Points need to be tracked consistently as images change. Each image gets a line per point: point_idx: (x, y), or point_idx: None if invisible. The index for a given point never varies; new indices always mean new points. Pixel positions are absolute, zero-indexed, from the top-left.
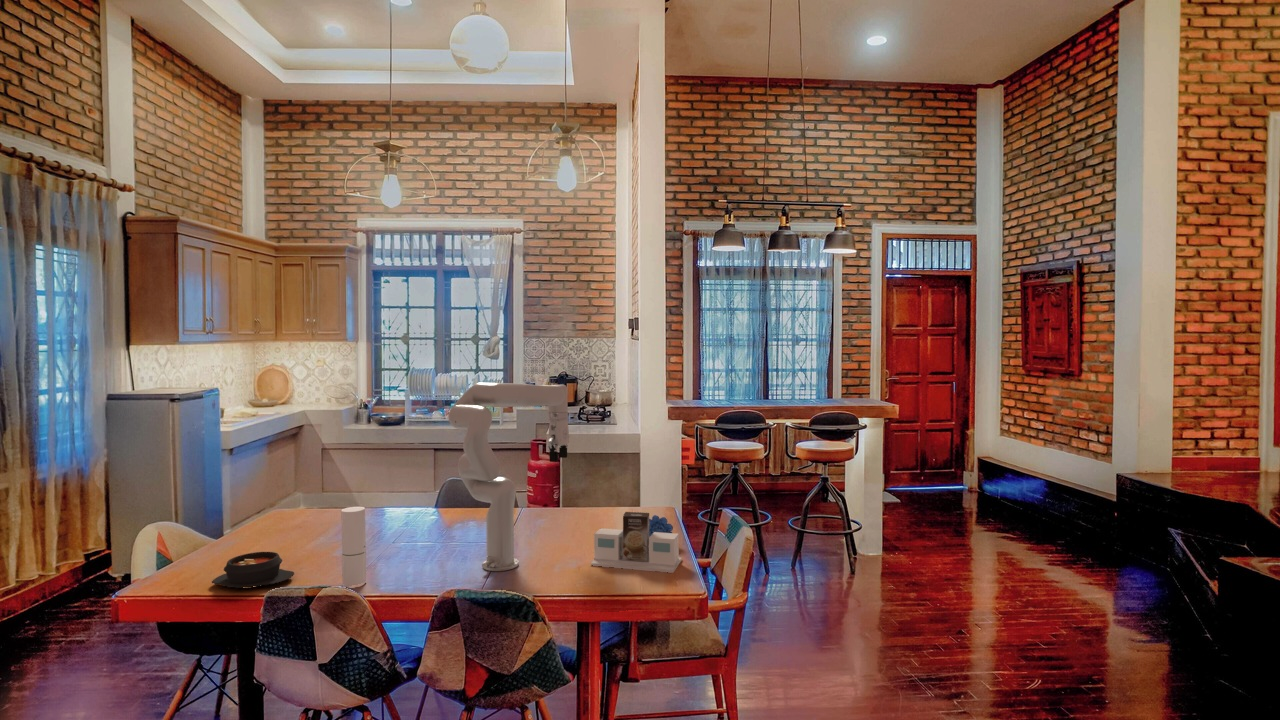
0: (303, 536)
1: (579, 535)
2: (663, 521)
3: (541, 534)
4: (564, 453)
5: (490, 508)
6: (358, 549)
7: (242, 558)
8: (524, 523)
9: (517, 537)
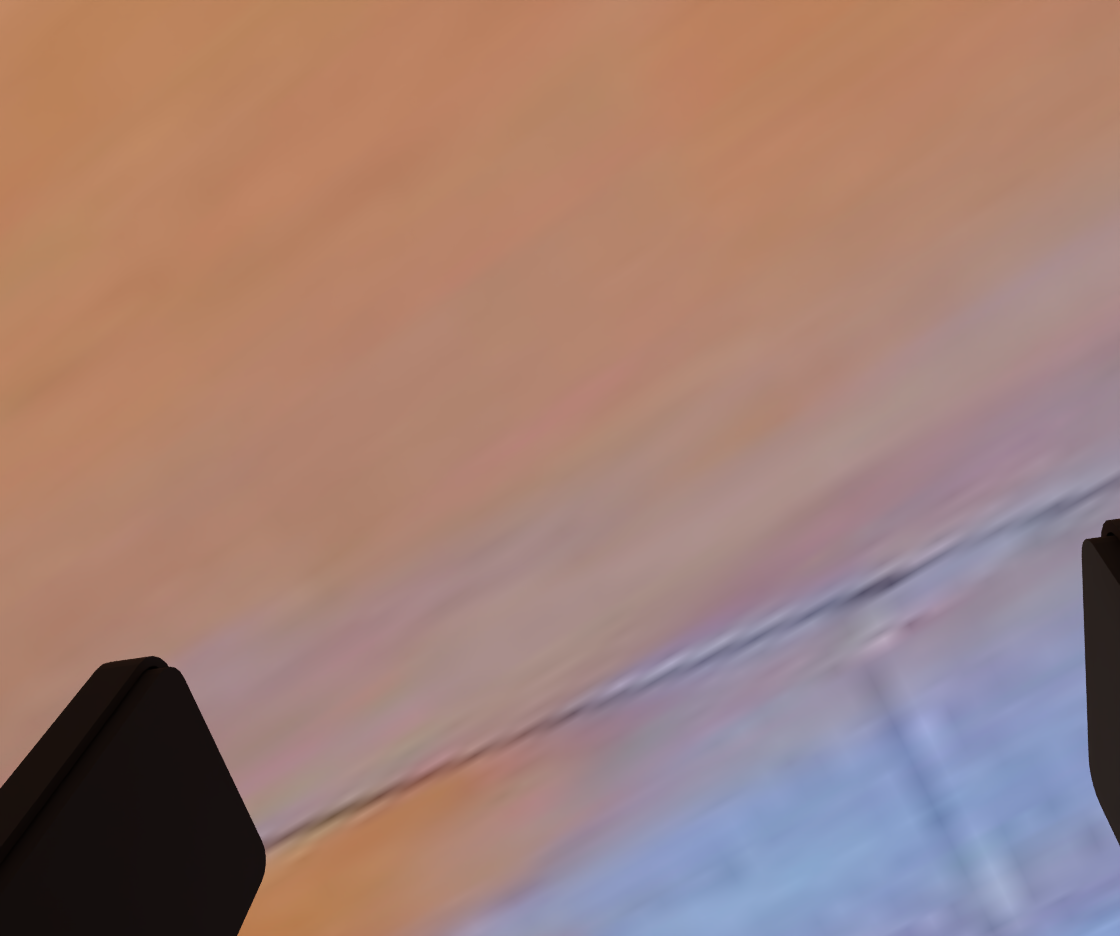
0: None
1: (336, 124)
2: None
3: (500, 468)
4: (131, 824)
5: None
6: None
7: None
8: (319, 748)
9: (673, 592)
